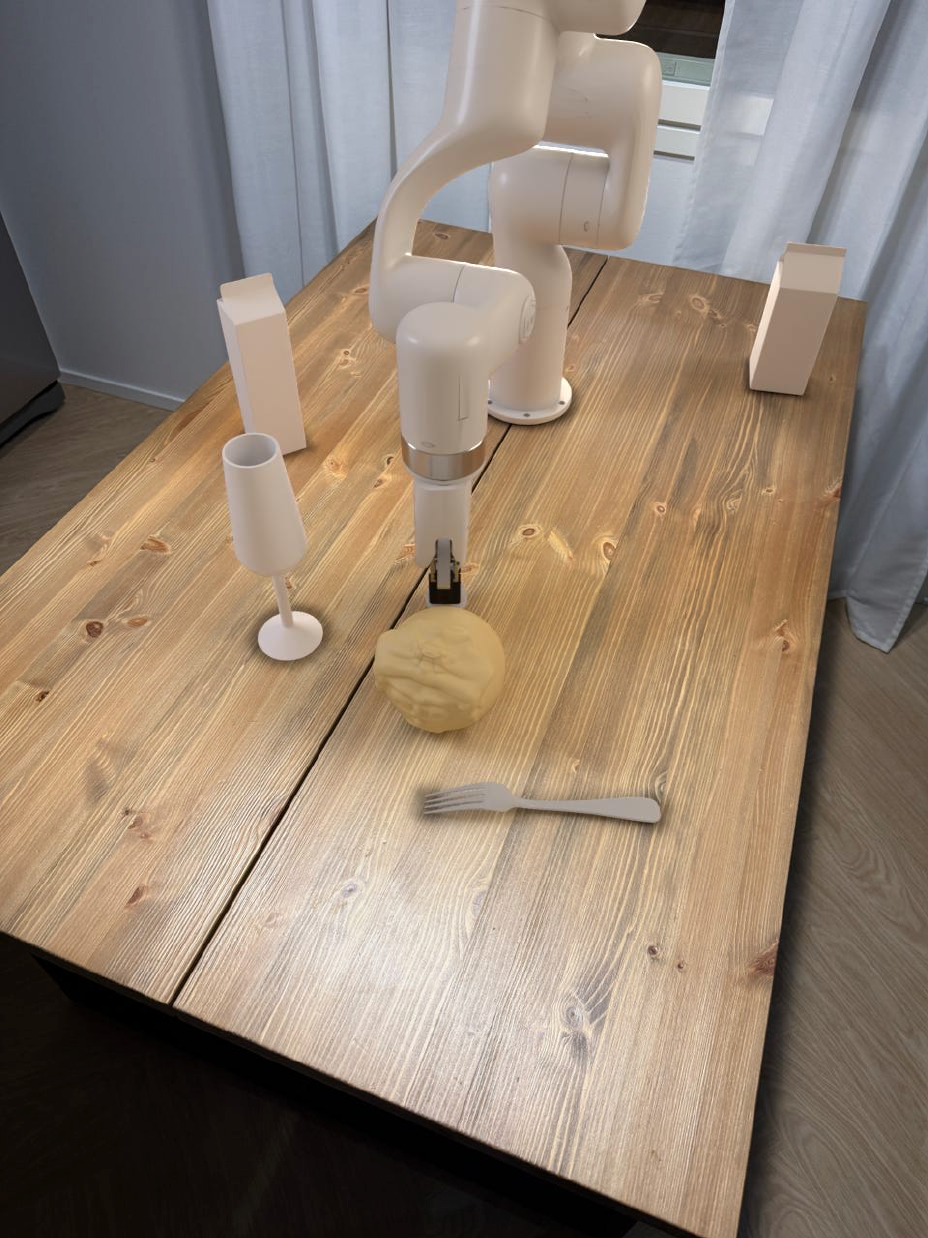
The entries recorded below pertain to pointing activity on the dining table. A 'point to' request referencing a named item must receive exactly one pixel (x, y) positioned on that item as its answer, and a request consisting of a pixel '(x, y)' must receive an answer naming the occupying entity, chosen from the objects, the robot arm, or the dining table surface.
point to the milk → (262, 360)
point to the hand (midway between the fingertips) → (445, 585)
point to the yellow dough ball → (440, 668)
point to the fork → (547, 803)
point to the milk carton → (795, 317)
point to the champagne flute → (269, 536)
